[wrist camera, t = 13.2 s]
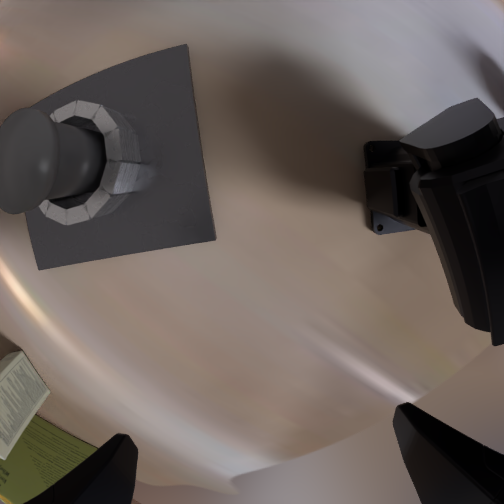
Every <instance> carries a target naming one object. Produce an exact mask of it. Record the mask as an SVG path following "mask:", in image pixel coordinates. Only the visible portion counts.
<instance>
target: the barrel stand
mask: <svg viewBox="0 0 504 504" xmlns="http://www.w3.org/2000/svg"><path fill="white" fill-rule="evenodd" d="M30 108H31V109H35V110H40V111H43V112H45V113H47V114H48V115H49V116H50V117H51V118H52V120H53V121H54V122H58V123H63V124H67V125H72V126H76V127H80V128H85V129H89V130H93V131H97V132H101V133H102V134H103V135H104V138H105V148H106V156H107V163H106V166H105V170H104V173H103V176H102V180H101V183H100V187H99V188H98V189H97V190H96V191H95V192H93V193H86V194H79V195H73V196H66V197H60V198H54V199H49V200H44V201H43V202H42V203H41V204H40V205H39V206H38V207H36V208H35V209H33V210H31V211H27V212H25V214H26V219H27V224H28V229H29V234H30V239H31V243H32V247H33V251H34V255H35V259H36V263H37V266H38V270H44V269H49V268H55V267H60V266H66V265H71V264H77V263H82V262H88V261H94V260H99V259H105V258H111V257H117V256H122V255H128V254H134V253H140V252H146V251H152V250H158V249H164V248H170V247H176V246H183V245H189V244H195V243H202V242H208V241H214V240H216V239H217V237H216V232H215V226H214V220H213V215H212V209H211V203H210V197H209V191H208V185H207V179H206V172H205V166H204V160H203V153H202V146H201V140H200V133H199V126H198V119H197V112H196V105H195V97H194V90H193V82H192V74H191V66H190V57H189V49H188V46H187V44H184V45H180V46H176V47H172V48H168V49H165V50H161V51H157V52H154V53H151V54H147V55H144V56H141V57H138V58H135V59H132V60H129V61H126V62H124V63H121V64H118V65H116V66H113V67H110V68H108V69H105V70H103V71H101V72H98V73H96V74H93V75H91V76H89V77H87V78H84V79H82V80H80V81H78V82H76V83H74V84H72V85H70V86H68V87H66V88H64V89H62V90H60V91H58V92H56V93H54V94H52V95H50V96H49V97H47V98H45V99H43V100H42V101H40V102H38V103H36V104H35V105H33V106H31V107H30Z"/></svg>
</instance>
